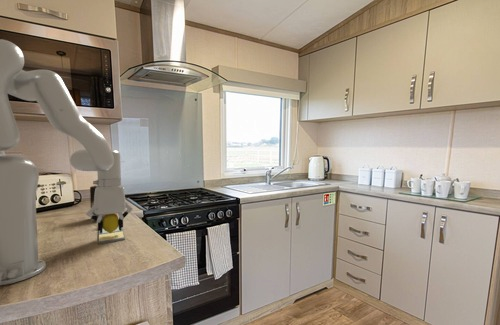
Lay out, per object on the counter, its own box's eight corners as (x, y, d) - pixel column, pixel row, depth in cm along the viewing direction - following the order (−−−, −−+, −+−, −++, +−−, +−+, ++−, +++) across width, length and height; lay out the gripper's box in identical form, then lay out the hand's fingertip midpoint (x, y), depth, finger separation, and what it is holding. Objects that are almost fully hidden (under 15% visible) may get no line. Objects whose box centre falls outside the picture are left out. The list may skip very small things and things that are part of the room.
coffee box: (90, 221, 117) (89, 187, 117) (94, 217, 124) (93, 185, 123) (111, 219, 120) (110, 186, 119) (115, 216, 126) (114, 184, 125)
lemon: (111, 236, 91) (111, 214, 91) (98, 235, 92) (98, 213, 92) (122, 231, 96) (121, 210, 96) (110, 230, 98) (109, 210, 97)
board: (124, 239, 92) (124, 233, 92) (98, 244, 88) (97, 237, 88) (120, 222, 115) (120, 217, 115) (99, 225, 111) (99, 220, 110)
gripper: (81, 185, 86) (82, 237, 87) (135, 182, 95) (136, 229, 95) (82, 183, 92) (84, 231, 93) (133, 180, 101) (134, 225, 102)
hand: (110, 230), depth 94 cm, fingers closed on lemon, 5 cm apart
